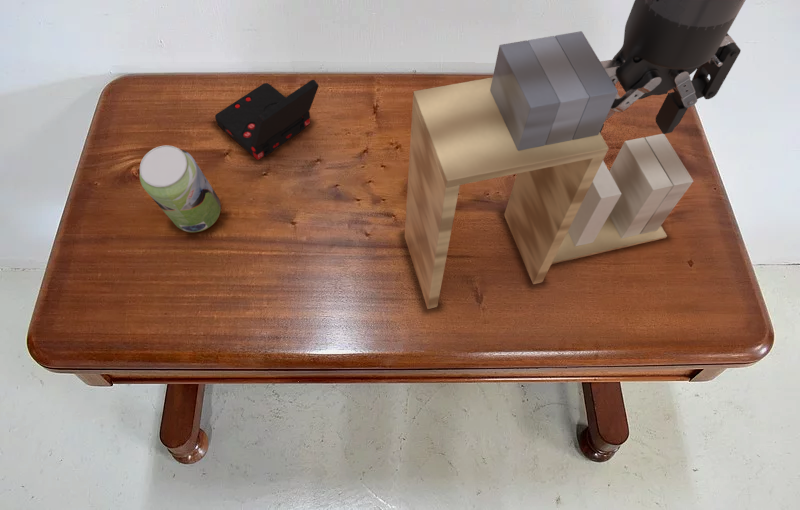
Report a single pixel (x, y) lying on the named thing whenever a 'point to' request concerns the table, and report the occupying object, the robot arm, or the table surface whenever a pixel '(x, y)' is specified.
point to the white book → (595, 207)
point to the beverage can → (179, 188)
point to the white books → (637, 197)
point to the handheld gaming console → (267, 117)
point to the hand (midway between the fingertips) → (624, 135)
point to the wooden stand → (509, 149)
